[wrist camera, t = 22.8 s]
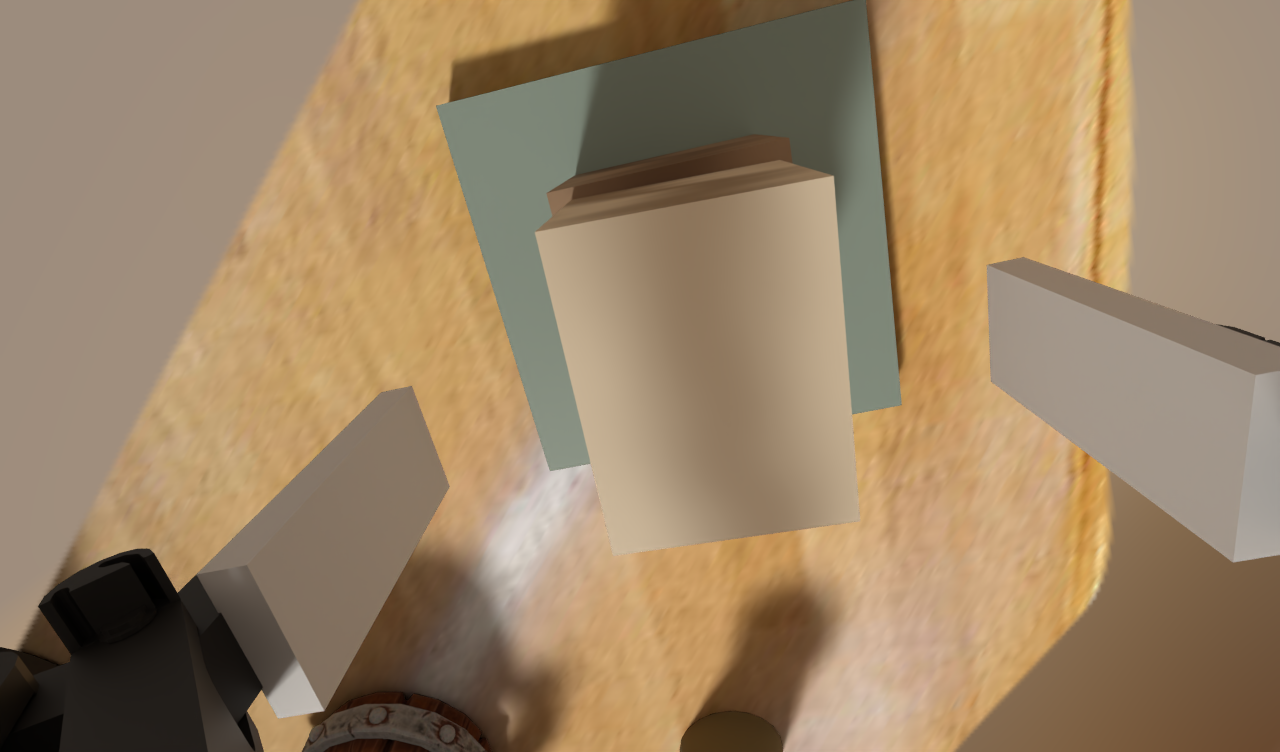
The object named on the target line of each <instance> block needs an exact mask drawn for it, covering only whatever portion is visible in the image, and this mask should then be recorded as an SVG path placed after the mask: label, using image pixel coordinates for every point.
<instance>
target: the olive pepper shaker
mask: <svg viewBox="0 0 1280 752" xmlns="http://www.w3.org/2000/svg"><path fill="white" fill-rule="evenodd" d="M680 752H783V747H782V742H781V737H780V735H779V734H778V732H777V731H776V730H775V728H774V727H773V726H772V725H771V724H769V723H768V722H767V721H765V720H764V719H762V718H760V717H758V716H755V715H752V714H749V713H744V712H733V711H728V712H722V713H715V714H712V715H709V716H707V717H704V718H702V719H700V720H698V721H697V722H696V723H694V724H693V725H692V726H691V727H689V728H688V730H687V731H686V733H685V734H684V736H683V738H682V740H681V746H680Z"/></svg>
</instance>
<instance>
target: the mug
mask: <svg viewBox="0 0 1280 752" xmlns="http://www.w3.org/2000/svg"><path fill="white" fill-rule="evenodd" d="M481 733H482V732H481V731H480V729H479V728H478V727H477V726H476V725H475V724H474V723H473V722H472V721H471V720H470V719H469V718H468V717H467V716H466V715H465V714H464V713H462V712H460V711H458V710H456V709H455V708H453V707H451V706H449V705H447V704H446V703H444V702H442V701H440V700H438V699H434V698H430V697H426V696H422V695H418V694H415V693H414V694H413V695H412V696H411V697H410V698H409V700H405V697H404V694H403V692H377V693H373V694H370V695H367V696H364V697H360V698H357V699H354V700H351V701H348V702H347V703H345V704H344V705H343V706H341V707H340V708H339V709H338V710H336V711H335V712H334V713H333V714H332V715H331V716H330V717H329V718H328V719H326V720H325V721H324V722H322V723H321V724H320V725H317V726H315V727H314V728H313V729H312V730H311V732H310V734H309V738H308V740H307V742H306V744H305V746H304V748H303V751H302V752H492V751H491V749H490V746H489V744H488V741H487V739H486V738H482V739H479V738H480V736H481Z"/></svg>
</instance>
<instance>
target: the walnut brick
mask: <svg viewBox="0 0 1280 752" xmlns="http://www.w3.org/2000/svg"><path fill="white" fill-rule="evenodd" d="M776 160H782V161H785V162H789V163H792V155H791V148H790V140H789V138H787V137H777V136H767V135H758V134H752V135H748V136H744V137H739V138H735V139H731V140H726V141H722V142H718V143H713V144H709V145H705V146H700V147H696V148H691V149H687V150H683V151H678V152H674V153H670V154H665V155H661V156H657V157H652V158H648V159H644V160H639V161H635V162H630V163H626V164H622V165H617V166H613V167H609V168H604V169H600V170H596V171H591V172H587V173H583V174H578V175H575V176H573V177H571V178H570V179H568V180H567V181H565V182H563V183H562V184H560V185H559V186H557V187H555V188H554V189H552V190H551V191H549V192H547V193H546V194H547V198H548V202H549V205H550V209H551V213H552V216H554V215H555V214H556V213H557V212H558V211H559V210H560V209H561V208H563V207H564V206H565V205H566V204H567V203H568V202H569V201H571V200H573V199H578V198H583V197H588V196H594V195H599V194H604V193H609V192H614V191H620V190H625V189H630V188H635V187H641V186H646V185H651V184H656V183H661V182H667V181H672V180H677V179H682V178H687V177H693V176H698V175H703V174H708V173H713V172H719V171H724V170H729V169H734V168H740V167H745V166H750V165H755V164H760V163H766V162H771V161H776ZM792 164H793V163H792Z"/></svg>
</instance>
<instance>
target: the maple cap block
mask: <svg viewBox="0 0 1280 752" xmlns="http://www.w3.org/2000/svg"><path fill="white" fill-rule="evenodd" d="M535 235H536V239H537V243H538V248H539V252H540V256H541V260H542V264H543V268H544V272H545V277H546V281H547V285H548V289H549V293H550V297H551V301H552V305H553V310H554V314H555V318H556V322H557V326H558V330H559V334H560V339H561V343H562V347H563V351H564V355H565V359H566V363H567V367H568V372H569V376H570V380H571V384H572V388H573V392H574V396H575V401H576V405H577V409H578V413H579V417H580V421H581V425H582V429H583V434H584V438H585V442H586V446H587V450H588V454H589V458H590V463H591V467H592V471H593V475H594V479H595V483H596V487H597V491H598V496H599V500H600V504H601V508H602V512H603V516H604V520H605V525H606V529H607V533H608V537H609V541H610V545H611V549H612V553H613V556H616V555H623V554H630V553H637V552H645V551H652V550H659V549H666V548H673V547H680V546H687V545H694V544H702V543H709V542H716V541H723V540H730V539H737V538H744V537H752V536H759V535H766V534H773V533H780V532H787V531H794V530H801V529H809V528H816V527H823V526H830V525H837V524H844V523H851V522H858V521H860V512H859V499H858V486H857V473H856V460H855V447H854V434H853V421H852V408H851V394H850V381H849V368H848V355H847V342H846V329H845V316H844V303H843V290H842V277H841V264H840V251H839V238H838V225H837V212H836V198H835V185H834V176H833V175H830V174H826V173H823V172H819V171H816V170H813V169H809V168H806V167H802V166H799V165H796V164H792V163H789V162H785V161H782V160H776V161H771V162H766V163H760V164H755V165H750V166H745V167H740V168H734V169H729V170H724V171H719V172H713V173H708V174H703V175H698V176H693V177H687V178H682V179H677V180H672V181H667V182H661V183H656V184H651V185H646V186H641V187H635V188H630V189H625V190H620V191H614V192H609V193H604V194H599V195H594V196H588V197H583V198H578V199H573V200H571V201H569V202H568V203H567V204H566V205H565V206H564V207H563V208H561V209H560V210H559V211H558V212H557V213H556V214H555V215H554V216H552V217H551V218H550V219H549V220H548V221H547V222H546V223H544V224H543V225H542V226H541V227H540V228H539V229H538V230H536V231H535Z"/></svg>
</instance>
